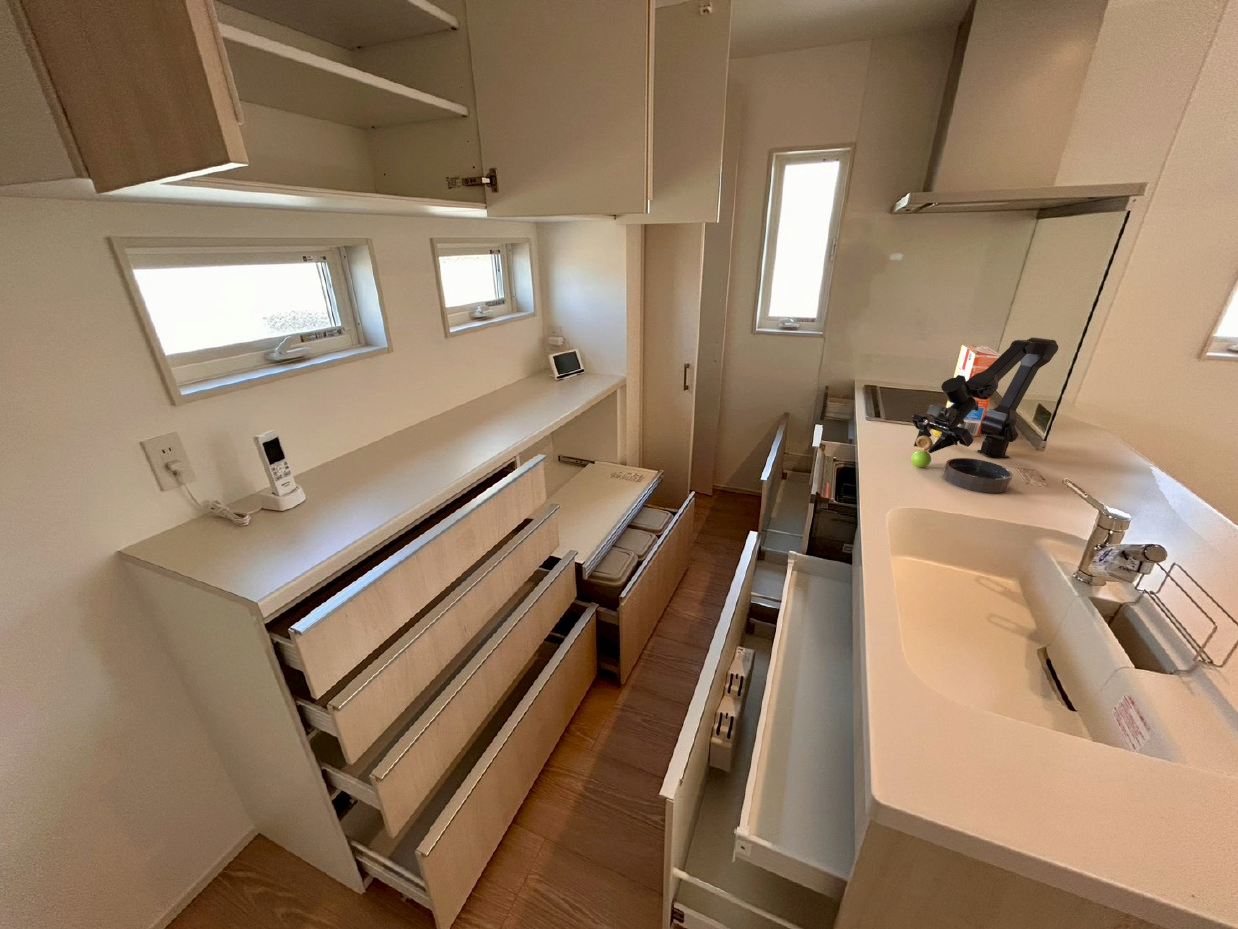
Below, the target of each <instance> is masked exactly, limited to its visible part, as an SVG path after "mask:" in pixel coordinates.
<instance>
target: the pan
mask: <svg viewBox="0 0 1238 929" xmlns="http://www.w3.org/2000/svg"><path fill="white" fill-rule="evenodd" d="M1013 476H1014V475H1013V472H1012V471H1011V470H1010V469H1008V468H1006V467H1004V466H1003V465H1000V464H997V463H995V462H991V461H988V460H982V459H977V458H970V457H969V458H968V457H955V458H949V459H947V460H946V461H945V465H944V469H943V473H942V477H943V479H944V480H945V481H947V482H949V483H950V484H952V485H954V486H957V487H959V488H962V489H964V490H968V491H973V492H978V493H987V494H993V493H994V494H997V493H1003V492H1006V491H1007V490H1009V488H1010V486H1011V483H1012V479H1013Z"/></svg>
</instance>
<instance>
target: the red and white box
mask: <svg viewBox="0 0 1238 929" xmlns="http://www.w3.org/2000/svg"><path fill="white" fill-rule="evenodd" d="M1001 355H1002V354H1001V353H999V352H997V351H995V350H994V349H993V348H991V347H989V346H987V345H978V344H977V345H975V344H962V345H961V347H960V351H959V356H958V360H957V363H956V367H955V371H954V374H953V378H955V377H957V376H958V375H961V376H965V378H966V381H967V380H968V379H970V378H971V377H972V376H974V375H975V374H977V373H980V372H983V371H985V370H986V369H987V368H988V367H989V366H990V365H991V364H993V363H994V362H995V361H996V360H997V359H998V358H999V357H1000V356H1001ZM973 398H974V397H973ZM974 399H975V401H976V402H979V403H978V406H979V409H978V411H975V410H972V411H971V412H970V413H969V414H968V415H967V416H966V417H965V418H964V419H963V420H964V424H963V425H962V424H959V425H958V427H961V428H965V429H968V430H969V432H970V433H971V435H972V437H980V435H981V422H982V419H983V418H984V417H985V415H986V413H987V411H988V407H989V403H990V400H991V397H990V398H988V399H986V400H982V399H978V398H974ZM950 404H951V402H949V401H948V400H947V402H946V404H945V407H946V408H948V407H949V405H950Z"/></svg>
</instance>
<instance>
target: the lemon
mask: <svg viewBox="0 0 1238 929" xmlns="http://www.w3.org/2000/svg"><path fill="white" fill-rule="evenodd" d="M940 433H941V434H942V432H939V431H936V430H933V429H932V434H933V436H934V438H935V437H937V436H938V437H941V435H939V434H940Z"/></svg>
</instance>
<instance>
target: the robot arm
mask: <svg viewBox="0 0 1238 929" xmlns="http://www.w3.org/2000/svg"><path fill="white" fill-rule="evenodd" d="M1058 350H1059V344H1057V340H1055V339H1051V338H1050V339H1049V338H1042V337H1034V336H1032V337H1030V338H1028V339H1016V340H1013V341H1012V342H1011V343H1010V345H1009V347H1008V348H1007V349H1006V350H1005V351H1003V353H1001V354H1000V355H1001V356H1000V357H999V358H998V359H997V360H996V361H995V362H994V363H993V364H991V365H990V366H989V367H988V368H987V369H986V370H985V371H983V372H980V373H977V374H975V375H974V376H972V377H971V378H970V379H968V380H967V381H966V378H965V376H961V375H958V376H957V377H955V378H954V377H950V378H949V379H947V380H944V381H943V382H942V383H941V387H940V388H941V390H942V392H943V394H944V396H945V398H946V399H947V401H949V402H951V404H950V405H949V407H948V408H946V406H944V407H943V406H938V405H935V404H930V406H929V407H928V409H927V411H926V413H925V414H926V415H924V414H920V413H914V414H913V415H912V416H911V417H910V418H909V419H910V421H911V422H912V424H913V426H914V428H915V429H917V430H918V432H917V433H918V434H917V436H916V438H915V441H914V443H913V447H914V448H915V446H917V444H916V440H917V438H918V437H920V436H928V437H930V438H931V437H932V436H933V435H932V433H931V431H933V430H936V431H939V432H942V434H941V437H940V438H939V439H938V440H937V441H936V442H935V443H934V442H933V443H934V444H933V446H932V447H931V448H930V449H929V451H928V453H929V454H932V453H935V452H938V451H940V450H943V449H945V448H949V447H951V446H958V444H959V445H961V446H964V447H967V448H968V447H970V446H971V445H972V444H973V443H974V436H972V435H971V433H970V432H969V430H968V429H965V428H961V427H958V425H959V424H962V425H963V424H964V420H963V419H964V418H965V417H966V416H967V415H968V414H969V413H970V412H971V411H972V410H975V411H978V409H979V406H978V403H979V402H976V401H975V399H974V398H978V399H982V400H986V399H988V398H990V399H991V397H992V396H993V395H994V393H996V391H997V390H998V389H999V383H1000V381H1001V380H1002V379H1003V378H1004V377H1005V376H1006V375H1007V374H1008V373H1009V372H1010V371H1011V370H1012V369H1013V368H1014V367H1016V365H1018V363H1019V362H1020V365H1019V366H1018V368H1017V370H1016V372H1015V374H1014V375H1013V377H1012V379H1011V381H1010V382H1009V385H1008V386H1007V389H1006V390H1005V392H1004V394H1003V396H1002V398H1001V400H1000V402H999V404H998V405H996V406H995V407H994V408H989V409H987V410H986V414H985V417H984V418H983V419H982V422H981V431H980V435H982V436H985V437H984V440H983V441H982V444H981V446H980V449H977V452H978V453H980V454H981V455H983V456H986V457H987V458H990V459H1002V458H1003V459H1004V458H1005V459H1009V458H1010V456H1009V455H1008V454H1007V451H1008V447H1009V445H1010V443H1014V442H1015V441H1016V440H1017V438H1018V437H1019V433H1018V431H1017V428H1016V424H1017V421H1018V418H1017V413H1016V411H1017V409H1018V408H1019V406H1020V404H1021V402H1022V400H1023V398H1024V397H1025V395H1026V393H1027V391H1028V390H1029V387H1030V386H1031V384H1032V382H1033V380H1034V379H1035V377H1036V375H1037V373H1038V371H1039V370H1040V369H1041V368H1042V367H1045V365H1047V364H1048V363H1050V362H1051V361H1052V359H1053V357H1054V356H1055V355H1056V354H1057V353H1058ZM973 397H974V398H973ZM927 415H929V416H931V421H930V420H929V418H928V417H927ZM932 421H933V422H932ZM917 447H918V446H917Z"/></svg>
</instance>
